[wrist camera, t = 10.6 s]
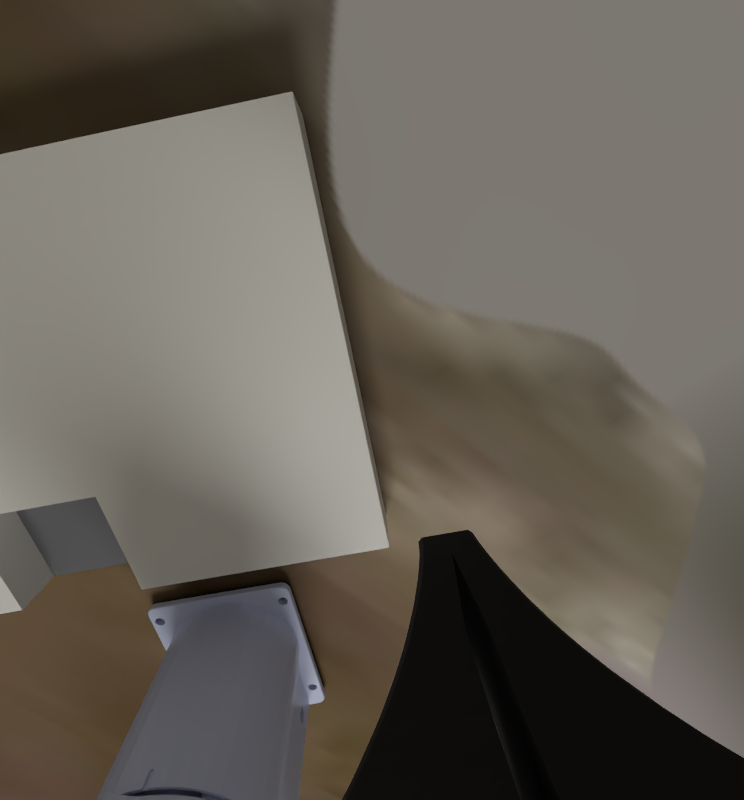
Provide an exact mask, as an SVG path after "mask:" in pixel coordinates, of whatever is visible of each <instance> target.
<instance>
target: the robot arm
mask: <svg viewBox="0 0 744 800" xmlns="http://www.w3.org/2000/svg"><path fill="white" fill-rule="evenodd" d="M419 550H420V561H419V574H418V582H417V589H416V595H415V602H414V607H413V612H412V616H411V620H410V625H409V629H408V633H407V638H406V641H405V645H404V649H403V652H402V656H401V659H400V662H399V665H398V668H397V672H396V675H395V678H394V681H393V683H392V686H391V689H390V692H389V695H388V697H387V700H386V703H385V706H384V708H383V711H382V713H381V716H380V718H379V721H378V723H377V726H376V728H375V730H374V733H373V735H372V737H371V739H370V742H369V744H368V746H367V748H366V751H365V753H364V755H363V757H362V760H361V762H360V764H359V766H358V769H357V771H356V773H355V775H354V777H353V779H352V781H351V783H350V785H349V787H348V789H347V791H346V793H345V795H344V797H343V799H342V800H744V758H743V757H741V756H739V755H738V754H736V753H734V752H732V751H731V750H729V749H727V748H726V747H724V746H722V745H721V744H719V743H717V742H715V741H714V740H712V739H711V738H709V737H707V736H706V735H704V734H703V733H701V732H700V731H698V730H697V729H695V728H694V727H692V726H691V725H689V724H687V723H686V722H684V721H683V720H681V719H680V718H678V717H677V716H675V715H674V714H672V713H671V712H669V711H668V710H666V709H665V708H663V707H662V706H660V705H659V704H657V703H656V702H655V701H653V700H652V699H650V698H649V697H648V696H646V695H645V694H644V693H642V692H641V691H639V690H638V689H637V688H635V687H634V686H632V685H631V684H630V683H628V682H627V681H625V680H624V679H623V678H621V677H620V676H618V675H617V674H616V673H614V672H613V671H611V670H610V669H609V668H608V667H606V666H605V665H604V664H603V663H601V662H600V661H599V660H597V659H596V658H595V657H594V656H592V655H591V654H590V653H589V652H587V651H586V650H585V649H584V648H582V647H581V646H580V645H579V644H578V643H577V642H575V641H574V640H573V639H572V638H571V637H569V636H568V635H567V634H566V633H565V632H564V631H562V630H561V629H560V628H559V627H558V626H557V625H556V624H555V623H554V622H552V621H551V620H550V619H549V618H548V617H547V616H546V615H545V614H544V613H543V612H542V611H541V610H540V609H539V608H538V607H537V606H536V605H535V604H533V603H532V602H531V601H530V600H529V599H528V598H527V597H526V596H525V595H524V593H523V592H522V591H521V590H520V589H519V588H518V587H517V586H516V585H515V584H514V583H513V582H512V581H511V580H510V579H509V578H508V576H507V575H506V574H505V573H504V572H503V571H502V570H501V569H500V568H499V566H498V565H497V564H496V563H495V562H494V561H493V559H492V558H491V557H490V556H489V555H488V553H487V552H486V551H485V549H484V548H483V547H482V546H481V544H480V543H479V542H478V540H477V539H476V537H475V536H474V534H473V533H472V532H470V531H469V530H464V531H458V532H453V533H447V534H441V535H435V536H429V537H423V538H422V539H421V540H420V541H419ZM282 598H286V599H282ZM148 616H149V618H150V620H151V622H152V624H153V626H154V628H155V630H156V632H157V634H158V636H159V638H160V640H161V642H162V644H163V645H164V647H165V649H166V651H167V652H166V654H165V656H164V658H163V660H162V662H161V664H160V666H159V668H158V670H157V673H156V675H155V677H154V679H153V681H152V683H151V685H150V687H149V689H148V691H147V694H146V696H145V698H144V700H143V702H142V704H141V706H140V708H139V710H138V712H137V715H136V717H135V719H134V721H133V723H132V725H131V727H130V729H129V731H128V734H127V736H126V738H125V740H124V742H123V744H122V746H121V748H120V750H119V752H118V755H117V757H116V759H115V761H114V763H113V765H112V767H111V769H110V771H109V773H108V776H107V778H106V780H105V782H104V784H103V786H102V788H101V790H100V792H99V794H98V797H97V799H96V800H298V799H299V790H300V781H301V772H302V762H303V753H304V744H305V735H306V726H307V717H308V708H309V704H315V703H320V702H322V701H323V700H324V698H325V690H324V687H323V684H322V681H321V678H320V675H319V672H318V669H317V666H316V663H315V660H314V657H313V654H312V651H311V648H310V645H309V642H308V639H307V636H306V633H305V630H304V627H303V624H302V621H301V618H300V615H299V612H298V609H297V606H296V603H295V600H294V597H293V594H292V591H291V588H290V587H289V585H287V584H286V583H274V584H268V585H262V586H256V587H250V588H244V589H238V590H232V591H226V592H221V593H215V594H209V595H203V596H197V597H191V598H185V599H179V600H173V601H167V602H161V603H156V604H153V605H152V606H151V608H150V609H149V611H148ZM490 709H491V710H490ZM491 712H492V713H491ZM492 715H493V716H492ZM493 718H494V719H493ZM494 721H495V722H494ZM495 724H496V725H495ZM496 726H497V728H496ZM497 730H498V731H497ZM498 733H499V734H498ZM499 736H500V737H499ZM500 739H501V740H500ZM501 742H502V743H501ZM502 745H503V746H502ZM503 749H504V750H503ZM504 752H505V753H504Z"/></svg>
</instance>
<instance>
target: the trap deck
mask: <svg viewBox="0 0 744 800" xmlns="http://www.w3.org/2000/svg"><path fill="white" fill-rule="evenodd" d="M383 548H389V539H388V529H387V519H386V512H385V507H384V502H383V498H382V493H381V488H380V483H379V478H378V474H377V469H376V464H375V459H374V455H373V450H372V445H371V440H370V435H369V431H368V426H367V421H366V416H365V411H364V407H363V402H362V397H361V392H360V387H359V383H358V378H357V373H356V368H355V364H354V359H353V354H352V349H351V344H350V340H349V335H348V330H347V325H346V320H345V316H344V311H343V306H342V301H341V296H340V292H339V287H338V282H337V277H336V273H335V268H334V263H333V258H332V253H331V249H330V244H329V239H328V234H327V229H326V225H325V220H324V215H323V210H322V205H321V201H320V196H319V191H318V186H317V182H316V177H315V172H314V167H313V162H312V158H311V153H310V148H309V143H308V138H307V134H306V129H305V124H304V119H303V115H302V112H301V110H300V108H299V106H298V103H297V101H296V99H295V96H294V94H293V92H287V93H282V94H278V95H273V96H269V97H264V98H259V99H255V100H250V101H245V102H241V103H236V104H231V105H227V106H222V107H217V108H213V109H208V110H204V111H199V112H194V113H190V114H185V115H180V116H176V117H171V118H166V119H162V120H157V121H153V122H148V123H143V124H139V125H134V126H129V127H125V128H120V129H115V130H111V131H106V132H102V133H97V134H92V135H88V136H83V137H78V138H74V139H69V140H64V141H60V142H55V143H50V144H46V145H41V146H37V147H32V148H27V149H23V150H18V151H13V152H9V153H4V154H0V614H2V613H8V612H14V611H20V610H23V609H24V608H25V607H26V606H27V605H28V603H29V602H30V601H31V600H32V599H33V598H34V597H35V596H36V595H37V594H38V593H39V592H40V590H41V589H42V588H43V587H44V586H45V585H46V584H47V583H48V582H49V581H50V580H51V579H52V578H53V576H56V575H62V574H68V573H73V572H79V571H85V570H91V569H97V568H102V567H108V566H114V565H120V564H125V563H129V565H130V567H131V569H132V571H133V573H134V575H135V577H136V579H137V581H138V583H139V585H140V587H141V589H142V590H143V589H149V588H155V587H161V586H166V585H172V584H178V583H184V582H190V581H196V580H202V579H207V578H213V577H219V576H225V575H231V574H237V573H243V572H248V571H254V570H260V569H266V568H272V567H278V566H284V565H289V564H295V563H301V562H307V561H313V560H319V559H325V558H330V557H336V556H342V555H348V554H354V553H360V552H366V551H371V550H377V549H383Z"/></svg>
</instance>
